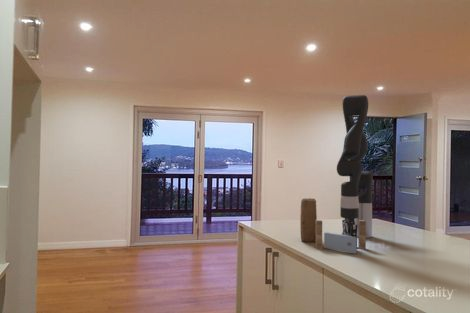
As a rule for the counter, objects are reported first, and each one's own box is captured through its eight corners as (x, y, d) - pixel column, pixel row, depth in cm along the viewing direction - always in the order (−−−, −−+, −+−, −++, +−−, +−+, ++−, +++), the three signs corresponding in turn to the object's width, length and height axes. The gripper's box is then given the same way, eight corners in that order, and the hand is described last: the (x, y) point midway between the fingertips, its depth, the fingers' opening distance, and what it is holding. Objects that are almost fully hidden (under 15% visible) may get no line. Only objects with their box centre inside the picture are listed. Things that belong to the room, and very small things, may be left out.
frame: (315, 247, 170) (315, 220, 170) (363, 247, 170) (363, 220, 171) (316, 248, 168) (316, 220, 168) (365, 248, 168) (365, 221, 168)
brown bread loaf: (317, 242, 180) (317, 199, 180) (300, 242, 181) (300, 199, 181) (315, 238, 191) (315, 197, 191) (300, 237, 192) (300, 197, 192)
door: (326, 247, 169) (326, 232, 169) (356, 252, 158) (356, 236, 158) (322, 248, 167) (322, 232, 167) (352, 253, 156) (352, 237, 156)
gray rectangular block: (341, 246, 168) (341, 232, 168) (353, 246, 168) (353, 232, 168) (345, 249, 163) (345, 235, 163) (357, 249, 163) (357, 235, 163)
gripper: (363, 208, 159) (363, 250, 159) (353, 204, 173) (353, 242, 173) (345, 208, 159) (345, 250, 159) (336, 204, 173) (336, 242, 173)
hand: (349, 245), depth 166 cm, fingers closed on gray rectangular block, 5 cm apart
